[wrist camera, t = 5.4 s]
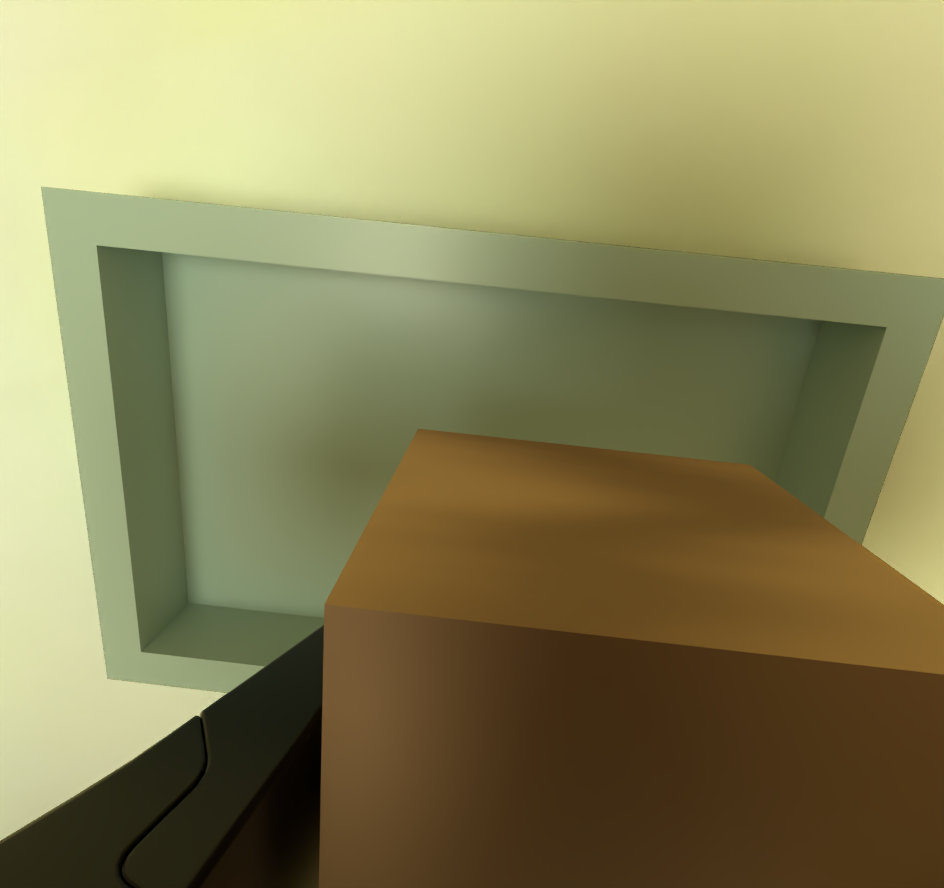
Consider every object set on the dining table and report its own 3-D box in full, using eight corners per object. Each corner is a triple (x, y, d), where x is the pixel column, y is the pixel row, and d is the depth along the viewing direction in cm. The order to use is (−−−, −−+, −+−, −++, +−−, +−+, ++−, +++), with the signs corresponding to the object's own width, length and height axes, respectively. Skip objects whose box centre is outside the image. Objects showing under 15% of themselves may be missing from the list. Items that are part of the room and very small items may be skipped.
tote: (735, 676, 17) (784, 758, 14) (173, 611, 17) (107, 678, 14) (856, 279, 13) (956, 280, 10) (139, 206, 13) (40, 186, 11)
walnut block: (750, 464, 9) (1058, 687, 4) (677, 728, 10) (833, 1113, 6) (417, 428, 9) (324, 605, 4) (398, 696, 10) (316, 1048, 6)
